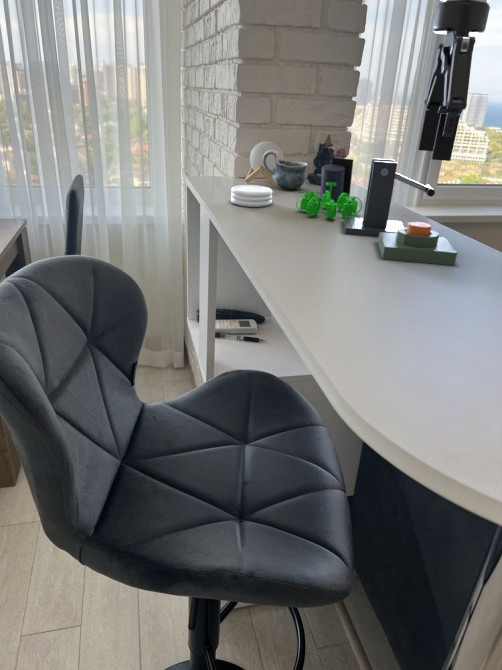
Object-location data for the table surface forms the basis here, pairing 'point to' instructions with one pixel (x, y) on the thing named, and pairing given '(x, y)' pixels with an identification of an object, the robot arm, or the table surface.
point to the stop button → (418, 228)
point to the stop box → (416, 247)
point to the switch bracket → (376, 202)
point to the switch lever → (415, 184)
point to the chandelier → (329, 204)
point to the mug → (286, 172)
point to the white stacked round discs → (251, 195)
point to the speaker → (337, 177)
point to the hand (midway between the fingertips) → (432, 155)
